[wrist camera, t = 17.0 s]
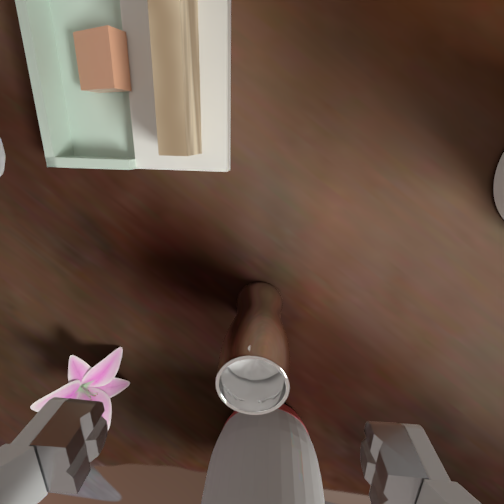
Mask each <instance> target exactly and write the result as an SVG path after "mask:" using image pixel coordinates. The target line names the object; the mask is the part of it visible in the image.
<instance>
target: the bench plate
mask: <svg viewBox="0 0 504 504" xmlns="http://www.w3.org/2000/svg"><path fill="white" fill-rule="evenodd" d="M120 9H121V20H122V30H123V31H125V32H126V36H127V47H128V58H129V69H130V80H131V91H129V101H130V111H131V121H132V132H133V142H134V152H135V162H136V169H161V170H189V171H217V172H228V171H229V170H230V138H231V0H198V29H199V66H200V103H201V140H202V154H196V155H191V156H164V155H159V153H158V139H157V126H156V112H155V98H154V85H153V71H152V57H151V43H150V30H149V16H148V2H147V0H120Z"/></svg>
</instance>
